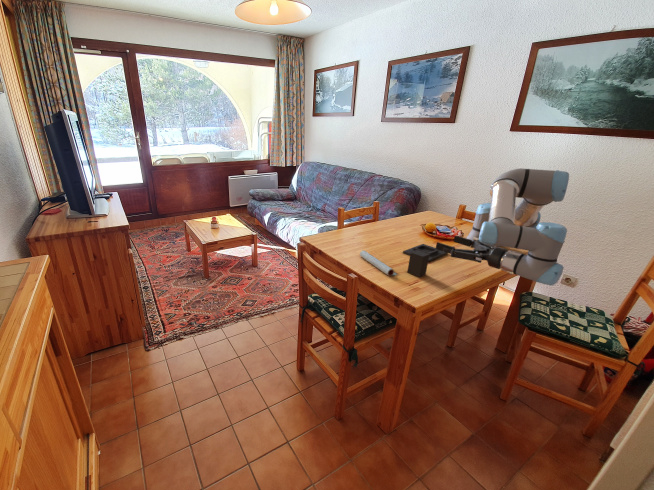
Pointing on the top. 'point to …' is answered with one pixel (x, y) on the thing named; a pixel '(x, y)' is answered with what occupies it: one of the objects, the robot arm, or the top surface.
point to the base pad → (427, 251)
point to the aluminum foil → (377, 263)
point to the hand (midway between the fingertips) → (445, 242)
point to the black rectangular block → (418, 263)
